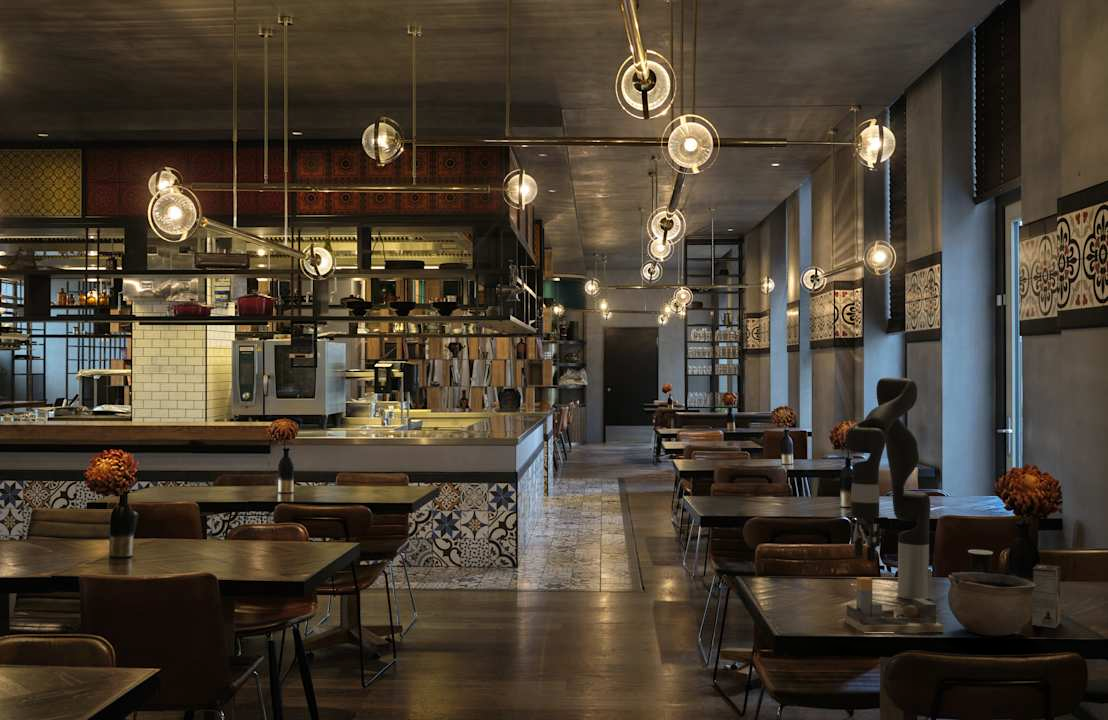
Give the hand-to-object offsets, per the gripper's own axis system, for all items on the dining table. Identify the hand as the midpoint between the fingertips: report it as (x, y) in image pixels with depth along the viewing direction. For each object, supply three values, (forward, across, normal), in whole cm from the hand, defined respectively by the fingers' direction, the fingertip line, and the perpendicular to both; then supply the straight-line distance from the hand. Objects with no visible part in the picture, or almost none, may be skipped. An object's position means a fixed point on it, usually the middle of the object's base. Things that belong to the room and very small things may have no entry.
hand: (864, 558), depth 285 cm
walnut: (+17, 0, -13) cm, 21 cm away
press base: (+19, 0, -8) cm, 21 cm away
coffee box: (+19, +2, -54) cm, 58 cm away
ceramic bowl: (+19, -8, -32) cm, 38 cm away
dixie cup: (+19, +60, -66) cm, 92 cm away
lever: (+17, 0, -1) cm, 17 cm away
